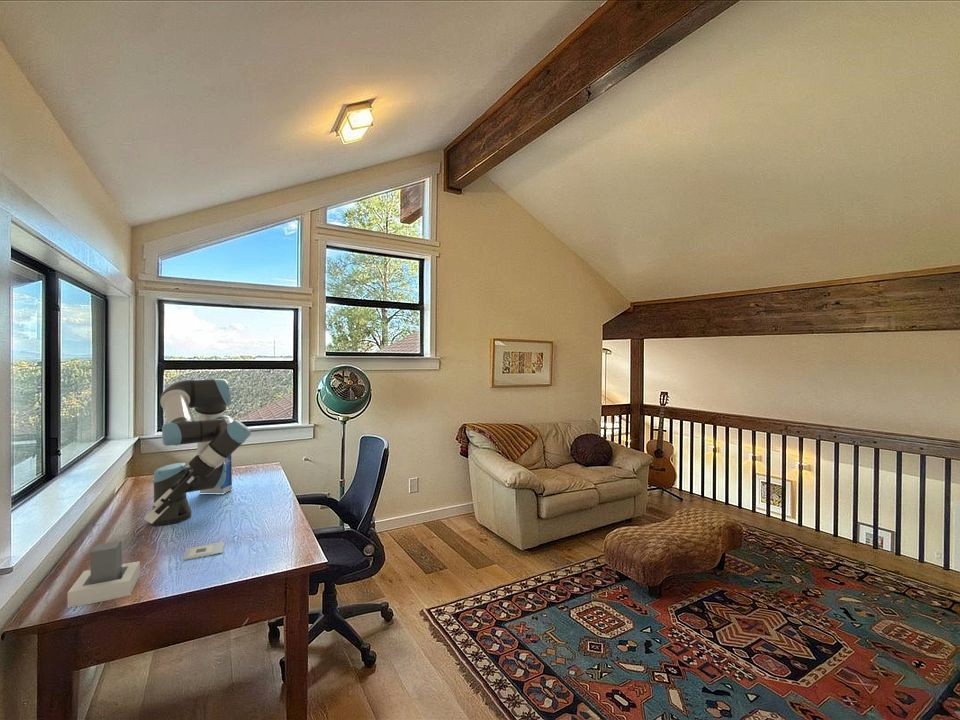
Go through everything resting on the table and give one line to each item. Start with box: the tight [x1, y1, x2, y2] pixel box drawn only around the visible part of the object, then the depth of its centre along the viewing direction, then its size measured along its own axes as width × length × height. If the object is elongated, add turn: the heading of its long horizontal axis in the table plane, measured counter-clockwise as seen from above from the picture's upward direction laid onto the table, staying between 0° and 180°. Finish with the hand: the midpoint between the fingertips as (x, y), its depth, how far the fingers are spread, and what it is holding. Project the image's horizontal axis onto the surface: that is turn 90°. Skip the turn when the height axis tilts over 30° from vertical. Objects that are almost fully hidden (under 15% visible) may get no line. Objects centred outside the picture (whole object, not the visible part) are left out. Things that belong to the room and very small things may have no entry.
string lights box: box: [199, 454, 233, 494], centre depth 227 cm, size 13×8×26 cm, turn 84°
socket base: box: [67, 560, 141, 609], centre depth 133 cm, size 14×14×4 cm
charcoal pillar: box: [89, 540, 123, 584], centre depth 133 cm, size 6×6×12 cm
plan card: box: [182, 541, 225, 561], centre depth 160 cm, size 10×12×1 cm
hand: (152, 513), depth 139 cm, fingers open, 13 cm apart
